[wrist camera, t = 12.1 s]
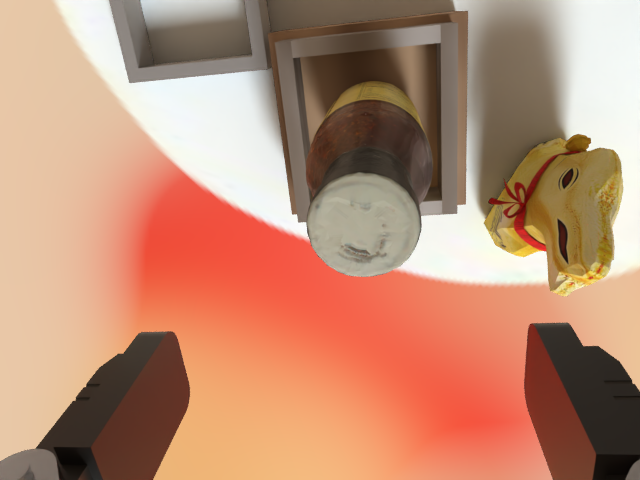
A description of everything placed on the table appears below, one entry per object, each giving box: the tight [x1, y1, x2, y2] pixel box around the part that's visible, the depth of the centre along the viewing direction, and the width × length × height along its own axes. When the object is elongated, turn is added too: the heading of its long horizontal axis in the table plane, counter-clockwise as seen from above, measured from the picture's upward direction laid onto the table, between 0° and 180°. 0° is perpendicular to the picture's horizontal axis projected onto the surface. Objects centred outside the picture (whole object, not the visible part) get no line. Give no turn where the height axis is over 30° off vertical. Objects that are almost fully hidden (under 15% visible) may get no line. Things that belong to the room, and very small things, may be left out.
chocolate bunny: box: [484, 134, 623, 296], centre depth 36 cm, size 7×11×15 cm, turn 157°
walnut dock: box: [268, 11, 468, 222], centre depth 37 cm, size 13×13×9 cm
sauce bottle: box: [306, 81, 433, 277], centre depth 27 cm, size 6×6×20 cm
